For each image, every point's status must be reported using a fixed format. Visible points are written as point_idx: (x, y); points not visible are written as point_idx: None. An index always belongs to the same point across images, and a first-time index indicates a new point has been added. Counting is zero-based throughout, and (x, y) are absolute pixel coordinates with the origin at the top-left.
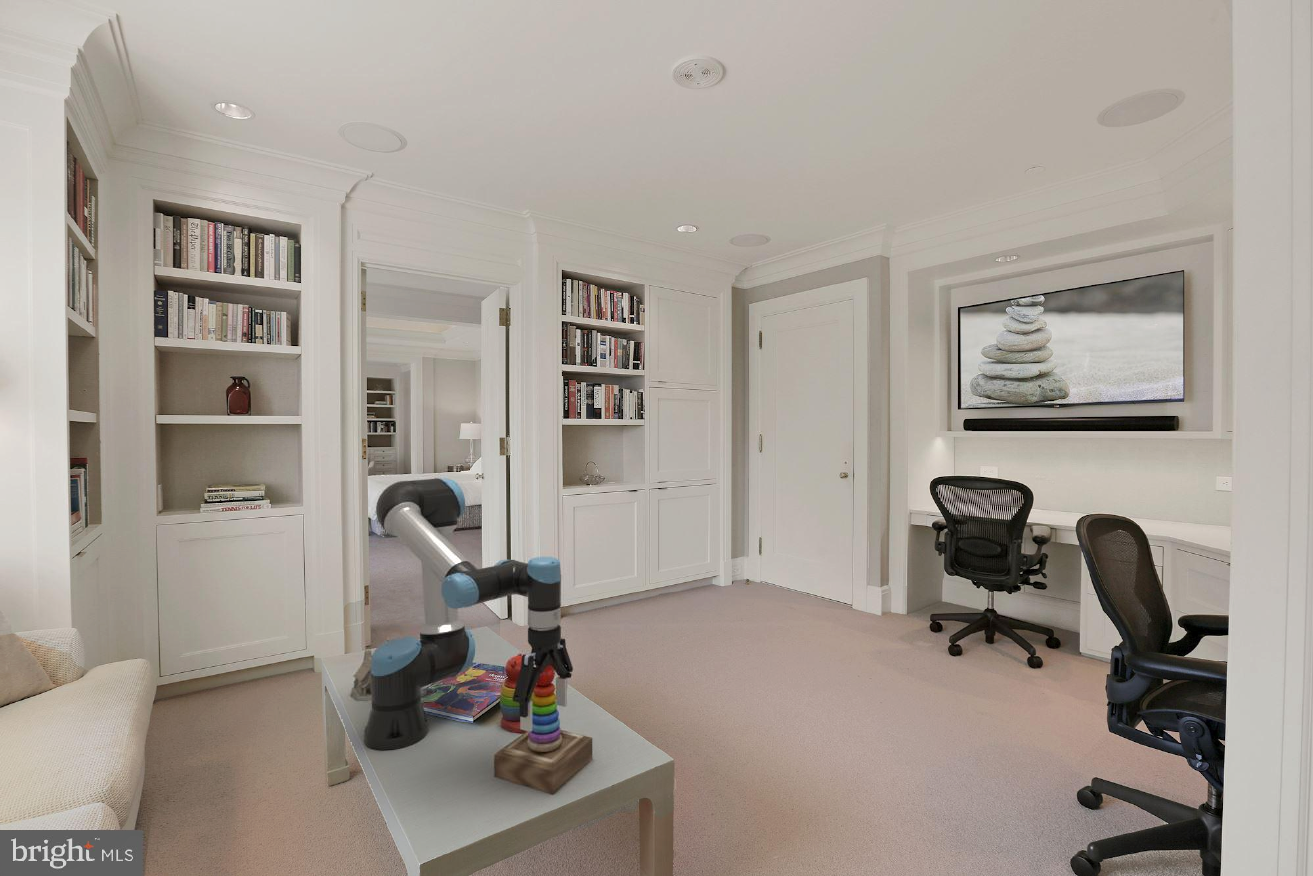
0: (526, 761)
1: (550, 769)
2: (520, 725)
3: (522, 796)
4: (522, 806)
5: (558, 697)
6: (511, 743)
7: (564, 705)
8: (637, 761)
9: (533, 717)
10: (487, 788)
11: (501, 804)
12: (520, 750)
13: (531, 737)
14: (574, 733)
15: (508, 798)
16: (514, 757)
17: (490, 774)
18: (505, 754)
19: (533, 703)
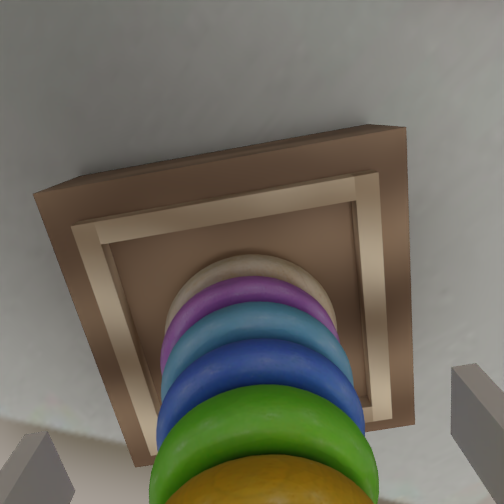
0: (107, 354)
1: (136, 453)
2: (10, 458)
3: (81, 344)
4: (51, 378)
5: (487, 436)
6: (161, 180)
7: (455, 437)
8: (436, 468)
9: (157, 440)
10: (16, 219)
11: (6, 326)
12: (148, 268)
13: (160, 357)
14: (411, 349)
15: (41, 319)
16: (88, 294)
17: (77, 150)
18: (74, 240)
19: (190, 473)
